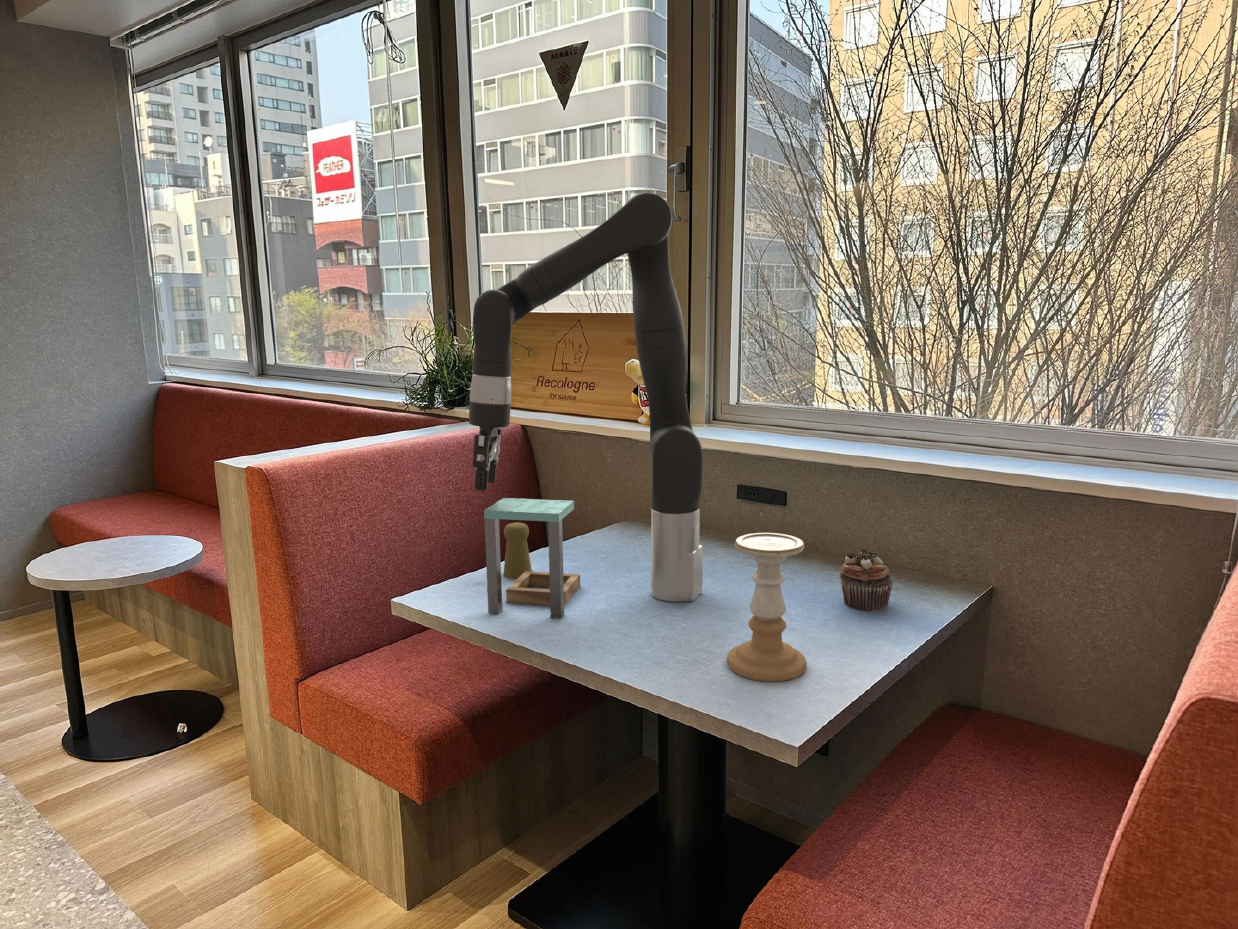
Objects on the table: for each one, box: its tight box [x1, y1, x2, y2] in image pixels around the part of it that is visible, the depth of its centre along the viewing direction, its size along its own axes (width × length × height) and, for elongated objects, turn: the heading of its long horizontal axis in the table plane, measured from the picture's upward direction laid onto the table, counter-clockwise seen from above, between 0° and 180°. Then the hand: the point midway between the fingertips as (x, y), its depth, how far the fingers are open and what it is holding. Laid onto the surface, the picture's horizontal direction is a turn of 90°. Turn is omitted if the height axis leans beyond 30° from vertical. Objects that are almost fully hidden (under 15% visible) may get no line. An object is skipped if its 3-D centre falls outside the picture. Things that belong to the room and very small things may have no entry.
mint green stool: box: [483, 497, 575, 619], centre depth 158 cm, size 10×14×20 cm
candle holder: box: [726, 532, 808, 682], centre depth 131 cm, size 12×12×20 cm
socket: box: [505, 570, 581, 607], centre depth 167 cm, size 12×12×2 cm
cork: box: [503, 522, 533, 580], centre depth 178 cm, size 6×6×11 cm
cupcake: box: [839, 549, 894, 612], centre depth 159 cm, size 10×10×10 cm
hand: (485, 486), depth 160 cm, fingers open, 8 cm apart
